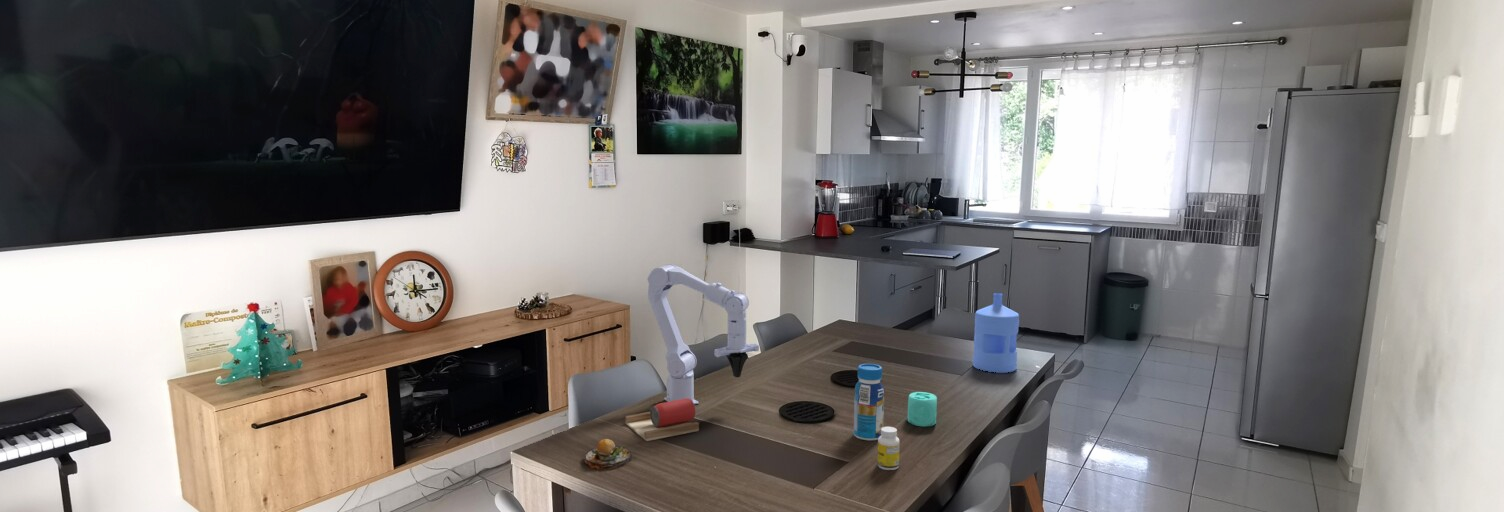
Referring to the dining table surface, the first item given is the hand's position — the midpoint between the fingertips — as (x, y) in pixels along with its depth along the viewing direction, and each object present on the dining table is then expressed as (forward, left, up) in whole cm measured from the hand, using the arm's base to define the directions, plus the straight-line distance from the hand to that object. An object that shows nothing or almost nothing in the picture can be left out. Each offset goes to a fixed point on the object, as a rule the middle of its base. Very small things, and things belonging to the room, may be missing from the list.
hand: (736, 376), depth 231 cm
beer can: (+3, -17, -6) cm, 18 cm away
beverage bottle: (+38, +21, -11) cm, 45 cm away
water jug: (+7, +106, -11) cm, 107 cm away
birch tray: (+3, -27, -10) cm, 29 cm away
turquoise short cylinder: (+37, +42, -11) cm, 57 cm away
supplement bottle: (+57, +12, -11) cm, 59 cm away
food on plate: (+18, -48, -11) cm, 52 cm away
